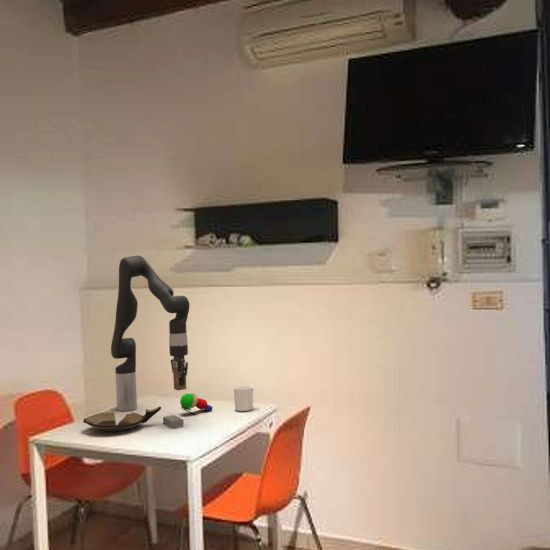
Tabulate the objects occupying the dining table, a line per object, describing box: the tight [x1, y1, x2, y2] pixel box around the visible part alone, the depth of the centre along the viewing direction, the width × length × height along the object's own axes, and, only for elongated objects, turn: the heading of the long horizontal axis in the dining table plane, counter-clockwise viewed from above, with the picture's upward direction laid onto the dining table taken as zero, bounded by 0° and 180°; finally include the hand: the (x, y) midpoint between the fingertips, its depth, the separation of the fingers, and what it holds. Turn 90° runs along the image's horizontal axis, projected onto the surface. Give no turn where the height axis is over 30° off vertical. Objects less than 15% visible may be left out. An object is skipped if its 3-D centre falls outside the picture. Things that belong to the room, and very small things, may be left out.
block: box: [172, 365, 187, 391], centre depth 248 cm, size 4×4×10 cm
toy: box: [180, 393, 213, 415], centre depth 267 cm, size 8×8×15 cm
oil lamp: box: [82, 406, 162, 432], centre depth 244 cm, size 22×30×8 cm
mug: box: [232, 384, 254, 413], centre depth 270 cm, size 11×9×10 cm
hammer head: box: [162, 414, 184, 430], centre depth 247 cm, size 10×5×3 cm, turn 31°
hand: (180, 384), depth 248 cm, fingers closed on block, 4 cm apart
